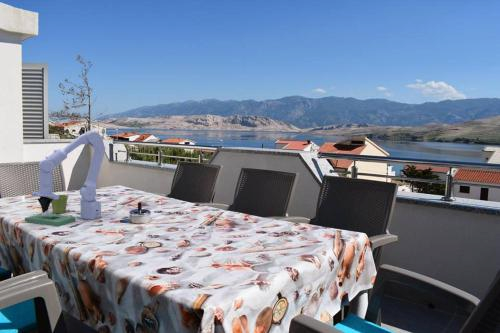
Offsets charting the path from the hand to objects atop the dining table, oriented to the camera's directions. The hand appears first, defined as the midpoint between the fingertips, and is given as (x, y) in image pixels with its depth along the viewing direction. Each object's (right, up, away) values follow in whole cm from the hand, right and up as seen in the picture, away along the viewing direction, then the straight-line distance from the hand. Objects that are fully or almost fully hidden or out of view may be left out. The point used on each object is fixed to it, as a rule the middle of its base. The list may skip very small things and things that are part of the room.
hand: (45, 212), depth 190 cm
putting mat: (+2, -4, +1) cm, 5 cm away
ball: (0, -1, +1) cm, 1 cm away
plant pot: (-3, -2, +20) cm, 20 cm away
